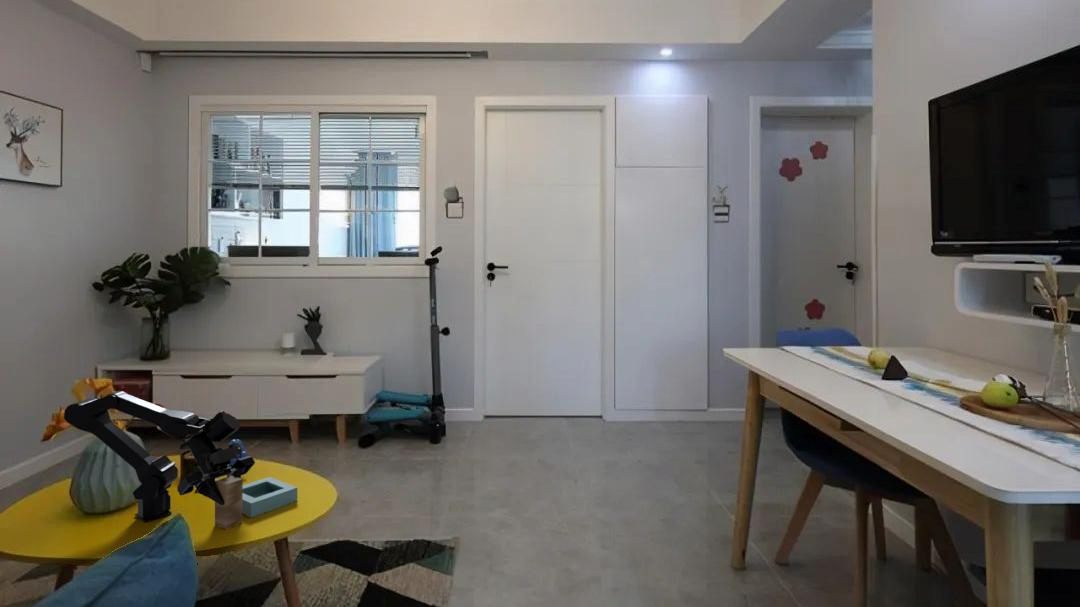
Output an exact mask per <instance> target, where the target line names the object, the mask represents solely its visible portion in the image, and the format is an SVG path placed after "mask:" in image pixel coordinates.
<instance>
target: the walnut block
mask: <svg viewBox="0 0 1080 607" xmlns="http://www.w3.org/2000/svg"><path fill="white" fill-rule="evenodd" d="M215 485H216V487H217V488H218V490H219V492H220V494H221V496H222V497H223V500H224V502H225V503H224V505H220V504H218V503H217V502H215V501H214V526H215V525H216V526H215V527H217V526H220V527H222V528H221V529H223V528H224V529H223V530H228V529H227V528H229V529H231V528H233V527H235V526H234V525H236V524H238V525H240V524H239V523H241V524H243V514H242V489H243V485H244V482H243V478H242V477H241V478H237V477H234V476H229V477H223V478H221V479H219V480H217V481H215ZM232 526H233V527H232ZM236 526H237V525H236ZM220 527H219V528H220ZM230 527H231V528H230Z"/></svg>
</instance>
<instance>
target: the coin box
mask: <svg viewBox="0 0 1080 607" xmlns="http://www.w3.org/2000/svg"><path fill="white" fill-rule="evenodd" d="M294 501H295V502H298V487H297V486H296V485H295V486H294V485H291V484H290V483H286V482H285V481H281V480H279V479H276V478H274V477H271V476H269V477H266V478H265V477H264V478H262V479H259V480H256V481H252V482H248V483H246V484H243V489H242V513H243V514H242V515H245V514H246V515H245V516H247V517H249V516H250V517H249V518H253V516H254V517H257V516H259V514H260V515H262V514H265V513H269V512H270V511H273V510H276V509H278V508H283V507H284V506H287V505H289V503H290V504H293V503H295V502H294ZM264 512H265V513H264ZM256 515H257V516H256Z"/></svg>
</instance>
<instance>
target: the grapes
mask: <svg viewBox="0 0 1080 607" xmlns="http://www.w3.org/2000/svg"><path fill="white" fill-rule="evenodd" d="M234 443H238V444H239V445H240V446H241V449H242V453H241V454H238V455H237V456H238V458H234V459H231V463H230V464H228V465H227V466H228V467H229V466H233V464H234V463H235V462H236V461H237V460H238V459H240V458H244V457H247V456H250V455H249V454H248V452H247V451H245V447H244V445H243V442H242V441H241V440H240V439H238V438H237V439H232V440H231V441H230V442H228V447H227V448H229V445H232V444H234Z"/></svg>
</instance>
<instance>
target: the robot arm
mask: <svg viewBox="0 0 1080 607" xmlns="http://www.w3.org/2000/svg"><path fill="white" fill-rule="evenodd" d="M111 409H113V410H115V411H118V412H120V413H123V414H125V415H129V416H132V417H134V418H136V419H139V420H142V421H145V422H148V423H150V424H153V425H155V426H156V427H158V428H159V429H160V430H161V432H162V433H164V434H166V435H167V436H169V437H171V438H173V439H175V440H181V439H182V442H181V444H180V446H179V447H178V448H179V450H183V451H184V450H189V451H190V453H191V454H192V456H193V458H194V459H195V460H194V461H196V462H195V463H194V464H193V465H194V466H195V468H199V469H200V471H195V472H193V473H189V474H185V476H184V477H183V478H182V479H181V480H180V482H179V484H178V485H177V487H176V488H177V492H178V494H179V496H180V497H181V496H184V495H187V494H188V495H189V494H190V493H192V492H194V494H195V495H196V494H200V495H202V496H203V497H206V498H207V499H210V500H211V501H213V502H214V503H215V502H217V503H218V504H220V505H224V503H225V502H224V500H223V497H222V496H221V494H220V492H219V490H218V488H217V487H216V485H215V478H218V479H219V478H222V477H224V476H227V477H229V476H234V477H237V478H241V479H242V476H243V475H246V474H247V473H248V472H249V471H250V470H251V469H252V467H253V466H254V465H255V464H256V461H255V459H254V458H253V456H250V455H249V456H247V457H244V458H240V459H238V460H237V461H236V462H235V463H234V464H233V466H229V467H228V465H229V464H230V463H231V459H234V458H238V456H237V455H238V454H241V453H242V449H241V446H240V445H239V444H238V443H234V444H232V445H229V444H228V447H229V448H228V447H227V448H224V449H223V448H222V447H219V448H218V447H217V445H216V442H218V443H222V442H223V441H225V440H226V439H227V438H229V437H230V436H232V434H234V433H235V432H236V431H238V430H239V429H240V428H241V427H240V425H241V424H240V422H239V420H238V419H237V418H236V417H235V416H233V415H232V414H229V413H227V412H225V411H224V410H221V411H218V413H216V414H215V415H214V416H213V418H211V419H207V418H205V417H204V418H203V417H199V416H198V415H197V414H196V413H193V412H189V411H185V410H172V409H168V408H164V407H163V406H159V405H158V404H154V403H152V402H149V401H146V400H144V399H140V398H139V397H136V396H133V395H132V394H128V393H127V392H125V391H121V390H117V391H114V392H111V393H109V394H106V395H105V396H103V397H100V398H93V397H92V398H87V399H84V400H80V401H77V402H75V403H71V404H69V405H67V406H66V407H65V409H64V412H63V414H64V415H63V419H64V421H65V422H66V423H67V424H68V425H71V426H72V427H74V428H76V429H77V430H79V431H83V432H86V433H89V434H93V436H95V437H96V438H97V439H98V440H100V441H101V442H102V443H103V444H104V445H106V446H107V447H108V448H109V449H110V450H112V451H113V452H114V453H115V454H116V455H117V456H119V457H120V458H121V460H123V461H124V462H125V463H127V464H128V465H129V466H130V467H132V468H133V469H134V471H135V472H136V474H135V475H136V476H137V480H138V481H139V483H140V485H139V486H137V488H135V489H134V491H132V496H133V498H134V499H135V500H137V513H135V514H134V517H136V518H137V519H139V520H140V521H142V520H143V521H142V522H144V521H145V522H144V523H146V521H148V522H150V521H149V520H151V521H154V520H157V519H160V518H163V517H166V516H169V515H168V514H170V515H172V514H173V513H172V510H171V499H172V498H171V495H170V494H169V490H168V489H170V488H171V487H172V485H173V483H174V482H175V481H176V480H177V479H178V475H179V469H178V467H177V466H176V465H177V462H175V461H173V460H171V459H170V458H169V457H168V456H167V455H166V454H162V455H160V456H154V455H152V454H150V452H149V451H147V450H146V449H145V448H143V447H142V445H140V444H139V443H138V442H136V441H135V439H133V438H132V437H131V436H129V434H128V433H126V431H124V430H123V429H122V428H120V427H119V426H118V425H117V424H116V423H114V422H113V420H112V419H111V416H110V413H109V410H111ZM190 435H191V436H190ZM188 436H190V437H189V438H187V437H188ZM186 438H187V439H186ZM194 488H195V490H194Z"/></svg>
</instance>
